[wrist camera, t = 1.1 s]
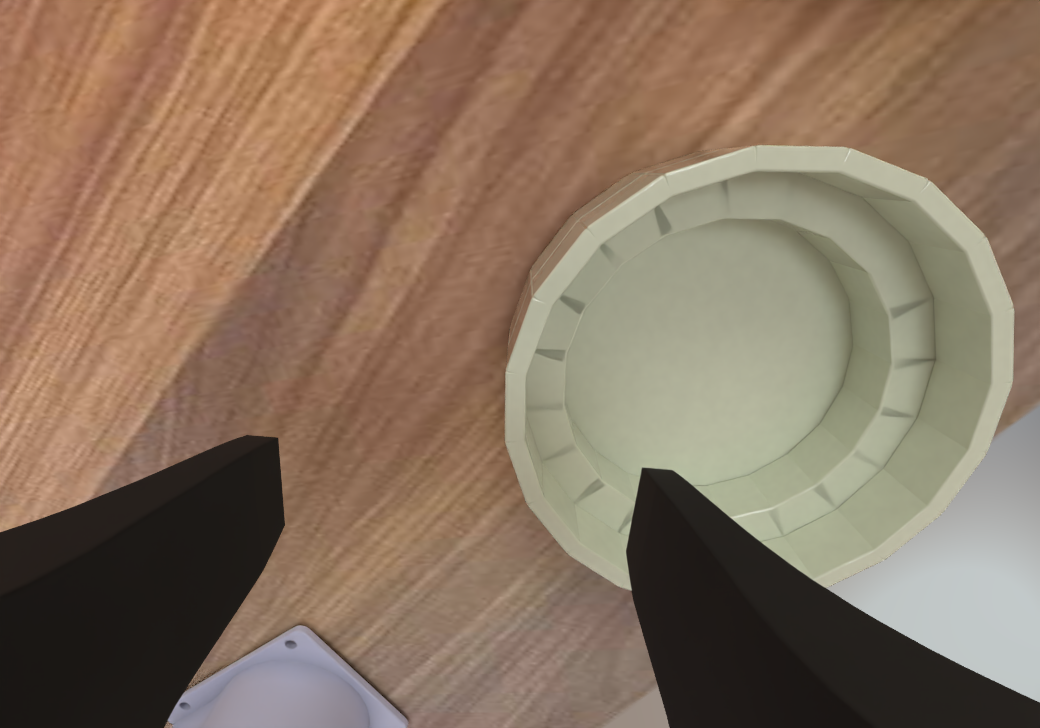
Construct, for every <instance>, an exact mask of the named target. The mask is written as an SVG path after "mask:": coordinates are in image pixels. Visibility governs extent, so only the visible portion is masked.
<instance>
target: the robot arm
mask: <svg viewBox="0 0 1040 728" xmlns="http://www.w3.org/2000/svg"><path fill="white" fill-rule="evenodd" d="M284 526H285V520H284V507H283V494H282V482H281V469H280V456H279V443H278V438H275V437H263V436H251V435H246V436H243V437H240V438H237V439H234V440H231V441H229V442H226V443H224V444H221V445H219V446H216V447H214V448H212V449H209V450H207V451H205V452H202V453H200V454H198V455H196V456H193V457H191V458H189V459H187V460H184V461H182V462H180V463H177V464H175V465H173V466H171V467H168V468H166V469H164V470H162V471H159V472H157V473H155V474H152V475H150V476H148V477H146V478H143V479H141V480H139V481H136V482H134V483H131V484H129V485H126V486H124V487H121V488H119V489H117V490H114V491H112V492H109V493H107V494H104V495H102V496H99V497H97V498H94V499H92V500H89V501H87V502H85V503H82V504H80V505H77V506H75V507H72V508H69V509H67V510H64V511H61V512H59V513H56V514H53V515H50V516H47V517H45V518H42V519H39V520H36V521H33V522H30V523H27V524H24V525H21V526H18V527H15V528H12V529H9V530H6V531H3V532H0V728H164V726H165V724H166V722H167V721H169V722H170V723H171V724H173V727H172V728H407V727H408V720H407V719H406V718H405V717H404V716H403V715H402V714H401V713H400V712H399V711H398V710H397V709H396V708H395V707H394V706H392V705H391V704H390V703H389V702H388V701H387V700H386V699H385V698H384V697H383V696H382V695H381V694H380V693H378V692H377V691H376V690H375V689H374V688H373V687H372V686H371V685H370V684H369V683H368V682H367V681H365V680H364V679H363V678H362V677H361V676H360V675H359V674H358V673H357V672H356V671H355V670H354V669H353V668H351V667H350V666H349V665H348V664H347V663H346V662H345V661H344V660H343V659H342V658H341V657H340V656H338V655H337V654H336V653H335V652H334V651H333V650H332V649H331V648H330V647H329V646H328V645H327V644H326V643H324V642H323V641H322V640H321V639H320V638H319V637H318V636H317V635H316V634H315V633H314V632H313V631H311V630H310V629H309V628H308V627H306V626H303V625H298V626H295V627H293V628H291V629H290V630H288V631H286V632H285V633H283V634H281V635H280V636H278V637H276V638H275V639H273V640H271V641H269V642H268V643H266V644H264V645H263V646H261V647H259V648H258V649H256V650H254V651H253V652H251V653H249V654H248V655H246V656H244V657H242V658H241V659H239V660H237V661H236V662H234V663H232V664H231V665H229V666H227V667H226V668H224V669H222V670H220V671H219V672H217V673H215V674H214V675H212V676H210V677H209V678H207V679H205V680H204V681H202V682H200V683H198V684H197V685H195V686H193V687H192V688H190V689H188V690H187V691H185V690H186V688H187V686H188V685H189V683H190V681H191V680H192V678H193V677H194V675H195V674H196V672H197V671H198V669H199V668H200V666H201V665H202V663H203V662H204V660H205V659H206V657H207V655H208V654H209V652H210V651H211V649H212V648H213V646H214V645H215V643H216V642H217V640H218V639H219V637H220V636H221V634H222V633H223V631H224V630H225V628H226V627H227V625H228V624H229V622H230V621H231V619H232V618H233V616H234V615H235V613H236V612H237V610H238V609H239V607H240V606H241V604H242V603H243V601H244V599H245V598H246V596H247V595H248V593H249V592H250V590H251V589H252V587H253V586H254V584H255V583H256V581H257V579H258V578H259V576H260V575H261V573H262V571H263V570H264V568H265V566H266V564H267V562H268V560H269V558H270V556H271V554H272V552H273V550H274V547H275V545H276V543H277V541H278V539H279V537H280V534H281V532H282V530H283V528H284ZM626 556H627V563H628V570H629V577H630V583H631V589H632V595H633V600H634V604H635V608H636V611H637V615H638V618H639V622H640V625H641V629H642V632H643V636H644V639H645V643H646V646H647V650H648V653H649V656H650V660H651V663H652V667H653V670H654V674H655V677H656V680H657V684H658V687H659V691H660V694H661V697H662V701H663V704H664V708H665V711H666V715H667V719H668V723H669V727H670V728H1040V703H1039V702H1037V701H1035V700H1033V699H1030V698H1028V697H1026V696H1024V695H1022V694H1020V693H1018V692H1016V691H1014V690H1011V689H1009V688H1007V687H1005V686H1003V685H1001V684H999V683H997V682H995V681H992V680H990V679H989V678H986V677H984V676H982V675H980V674H978V673H976V672H974V671H972V670H970V669H968V668H965V667H964V666H962V665H959V664H958V663H956V662H954V661H952V660H950V659H948V658H946V657H944V656H942V655H940V654H938V653H936V652H934V651H932V650H930V649H928V648H927V647H925V646H923V645H921V644H919V643H918V642H916V641H914V640H912V639H910V638H908V637H907V636H905V635H903V634H901V633H899V632H898V631H896V630H894V629H892V628H890V627H889V626H887V625H885V624H883V623H881V622H880V621H878V620H876V619H875V618H873V617H871V616H869V615H868V614H866V613H864V612H863V611H861V610H859V609H858V608H856V607H854V606H853V605H851V604H849V603H848V602H846V601H845V600H843V599H842V598H840V597H839V596H837V595H836V594H834V593H832V592H831V591H829V590H828V589H826V588H825V587H823V586H822V585H820V584H818V583H817V582H815V581H814V580H812V579H811V578H809V577H808V576H807V575H805V574H804V573H802V572H801V571H799V570H798V569H796V568H795V567H794V566H792V565H791V564H790V563H788V562H787V561H786V560H784V559H783V558H781V557H780V556H779V555H777V554H776V553H775V552H773V551H772V550H771V549H769V548H768V547H767V546H765V545H764V544H763V543H761V542H760V541H759V540H758V539H756V538H755V537H754V536H753V535H751V534H750V533H749V532H747V531H746V530H745V529H744V528H743V527H741V526H740V525H739V524H738V523H736V522H735V521H734V520H733V519H732V518H730V517H729V516H728V515H727V514H726V513H724V512H723V511H722V510H721V509H720V508H718V507H717V506H716V505H715V504H714V503H713V502H711V501H710V500H709V499H708V498H707V497H705V496H704V495H703V494H702V493H701V492H700V491H698V490H697V489H696V488H695V487H694V486H692V485H691V484H690V483H689V482H688V481H686V480H685V479H684V478H683V477H681V476H680V475H679V474H678V473H676V472H675V471H673V470H668V469H656V468H643V467H642V470H641V475H640V480H639V486H638V491H637V496H636V501H635V506H634V512H633V517H632V522H631V527H630V532H629V538H628V543H627V548H626ZM293 641H294V642H293ZM184 691H185V692H184Z"/></svg>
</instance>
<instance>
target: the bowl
mask: <svg viewBox="0 0 1040 728" xmlns="http://www.w3.org/2000/svg"><path fill="white" fill-rule="evenodd" d="M1013 363H1014V308H1013V303H1012V300H1011V298H1010V295H1009V293H1008V290H1007V288H1006V285H1005V283H1004V280H1003V277H1002V275H1001V272H1000V270H999V267H998V265H997V262H996V259H995V257H994V254H993V252H992V249H991V247H990V244H989V242H988V239H987V238H986V237H985V234H984V233H983V232H982V231H981V230H980V229H979V228H978V227H977V226H976V225H975V224H974V223H973V222H971V221H970V220H969V219H968V218H967V217H966V216H965V215H964V214H963V213H962V212H961V211H960V210H959V209H958V208H957V207H956V206H955V205H954V204H953V203H952V202H951V201H950V200H949V199H948V198H947V197H946V196H945V195H944V194H943V193H942V192H941V191H940V190H939V189H938V188H937V187H936V186H935V185H934V184H933V183H932V182H931V181H929V180H928V179H927V178H925V177H922V176H920V175H917V174H915V173H912V172H910V171H908V170H905V169H903V168H900V167H898V166H895V165H893V164H890V163H888V162H885V161H883V160H880V159H878V158H875V157H873V156H870V155H868V154H865V153H863V152H860V151H858V150H855V149H853V148H847V147H836V146H786V145H753V146H743V147H734V148H724V149H714V150H705V151H698V152H695V153H692V154H688V155H685V156H682V157H679V158H676V159H673V160H669V161H666V162H663V163H660V164H657V165H654V166H650V167H647V168H644V169H641V170H638V171H635V172H632V173H631V174H629V175H627V176H626V177H624V178H623V179H621V180H620V181H618V182H617V183H616V184H614V185H613V186H611V187H610V188H609V189H607V190H606V191H604V192H603V193H601V194H600V195H599V196H597V197H596V198H594V199H593V200H592V201H590V202H589V203H587V204H586V205H584V206H583V207H582V208H580V209H579V210H577V211H576V212H575V213H574V214H573V215H571V216H570V217H569V219H568V220H567V221H566V223H565V224H564V225H563V227H562V228H561V229H560V230H559V232H558V233H557V234H556V236H555V237H554V238H553V240H552V241H551V242H550V244H549V245H548V246H547V247H546V249H545V250H544V251H543V253H542V254H541V255H540V257H539V258H538V259H537V261H536V262H535V263H534V265H533V266H532V267H531V270H530V271H529V274H528V277H527V280H526V283H525V286H524V288H523V291H522V294H521V297H520V300H519V303H518V305H517V308H516V311H515V314H514V317H513V320H512V322H511V325H510V329H509V339H508V350H507V360H506V370H505V445H506V448H507V451H508V453H509V456H510V459H511V462H512V465H513V468H514V470H515V473H516V476H517V479H518V482H519V485H520V487H521V490H522V493H523V496H524V499H525V502H526V503H527V505H528V507H529V508H530V509H531V510H532V512H533V513H534V514H535V515H536V516H537V518H538V519H539V520H540V521H541V523H542V524H543V525H544V526H545V527H546V529H547V530H548V531H549V532H550V534H551V535H552V536H553V537H554V539H555V540H556V541H557V542H558V543H559V545H560V546H561V547H562V548H563V550H564V551H565V552H566V553H567V554H568V555H569V556H571V557H572V558H574V559H576V560H577V561H579V562H580V563H582V564H583V565H585V566H587V567H588V568H590V569H591V570H593V571H594V572H596V573H598V574H599V575H601V576H602V577H604V578H605V579H607V580H609V581H610V582H612V583H613V584H615V585H616V586H618V587H621V588H623V589H627V590H630V591H632V589H631V583H630V577H629V570H628V563H627V556H626V548H627V543H628V538H629V532H630V527H631V522H632V517H633V512H634V506H635V501H636V496H637V491H638V486H639V480H640V475H641V470H642V467H643V468H656V469H668V470H673V471H675V472H676V473H678V474H679V475H680V476H681V477H683V478H684V479H685V480H686V481H688V482H689V483H690V484H691V485H692V486H694V487H695V488H696V489H697V490H698V491H700V492H701V493H702V494H703V495H704V496H705V497H707V498H708V499H709V500H710V501H711V502H713V503H714V504H715V505H716V506H717V507H718V508H720V509H721V510H722V511H723V512H724V513H726V514H727V515H728V516H729V517H730V518H732V519H733V520H734V521H735V522H736V523H738V524H739V525H740V526H741V527H743V528H744V529H745V530H746V531H747V532H749V533H750V534H751V535H753V536H754V537H755V538H756V539H758V540H759V541H760V542H761V543H763V544H764V545H765V546H767V547H768V548H769V549H771V550H772V551H773V552H775V553H776V554H777V555H779V556H780V557H781V558H783V559H784V560H786V561H787V562H788V563H790V564H791V565H792V566H794V567H795V568H796V569H798V570H799V571H801V572H802V573H804V574H805V575H807V576H808V577H809V578H811V579H812V580H814V581H815V582H817V583H818V584H820V585H822V586H823V587H825V588H828V587H830V586H832V585H834V584H836V583H838V582H840V581H842V580H844V579H846V578H848V577H850V576H852V575H854V574H857V573H859V572H861V571H863V570H865V569H867V568H869V567H871V566H873V565H876V564H878V563H880V562H882V561H883V560H886V559H887V558H888V557H889V556H891V555H892V554H893V553H894V552H896V551H897V550H898V549H899V548H900V547H902V546H903V545H904V544H906V543H907V542H908V541H909V540H911V539H912V538H913V537H914V536H915V535H917V534H918V533H919V532H920V531H922V530H923V529H924V528H925V527H927V526H928V525H929V524H930V523H931V522H933V521H934V520H935V519H937V518H938V517H939V516H940V515H941V513H943V512H944V511H945V509H946V508H947V507H948V505H949V504H950V502H951V501H952V500H953V499H954V497H955V496H956V495H957V493H958V491H960V489H961V488H962V487H963V485H964V484H965V483H966V481H967V480H968V478H969V477H970V476H971V474H972V473H973V472H974V470H975V469H976V468H977V466H978V465H979V464H980V462H981V461H982V460H983V458H984V457H985V455H986V452H988V450H989V447H990V444H991V441H992V439H993V436H994V433H995V430H996V428H997V425H998V422H999V420H1000V417H1001V414H1002V411H1003V409H1004V406H1005V403H1006V400H1007V398H1008V395H1009V392H1010V390H1011V387H1012V382H1013Z"/></svg>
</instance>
